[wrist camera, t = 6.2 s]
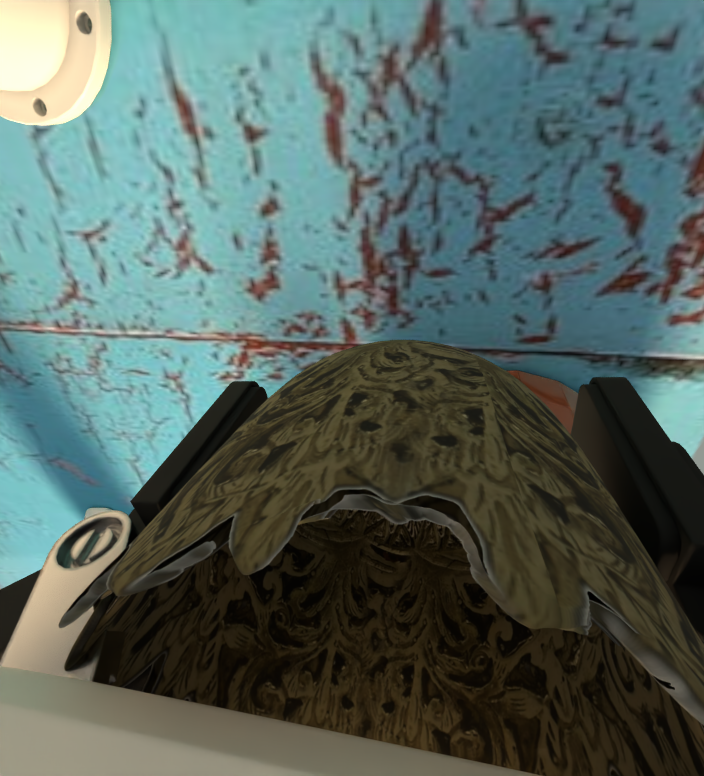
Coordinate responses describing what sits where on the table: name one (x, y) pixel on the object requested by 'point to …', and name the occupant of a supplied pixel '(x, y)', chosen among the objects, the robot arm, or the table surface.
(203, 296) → the table surface
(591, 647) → the cup
